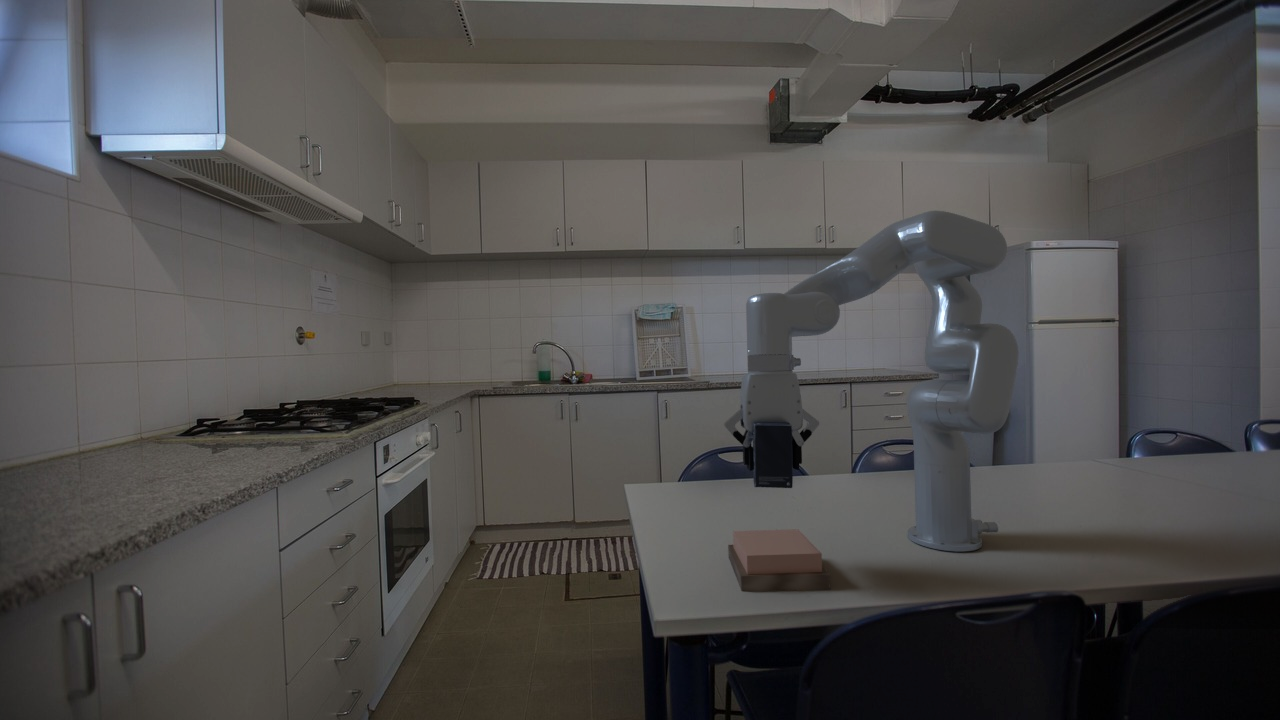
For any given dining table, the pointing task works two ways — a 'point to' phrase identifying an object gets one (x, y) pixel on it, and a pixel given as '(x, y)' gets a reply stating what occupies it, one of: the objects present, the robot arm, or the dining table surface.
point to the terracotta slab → (776, 552)
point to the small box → (772, 455)
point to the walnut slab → (777, 578)
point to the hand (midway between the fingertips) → (772, 467)
